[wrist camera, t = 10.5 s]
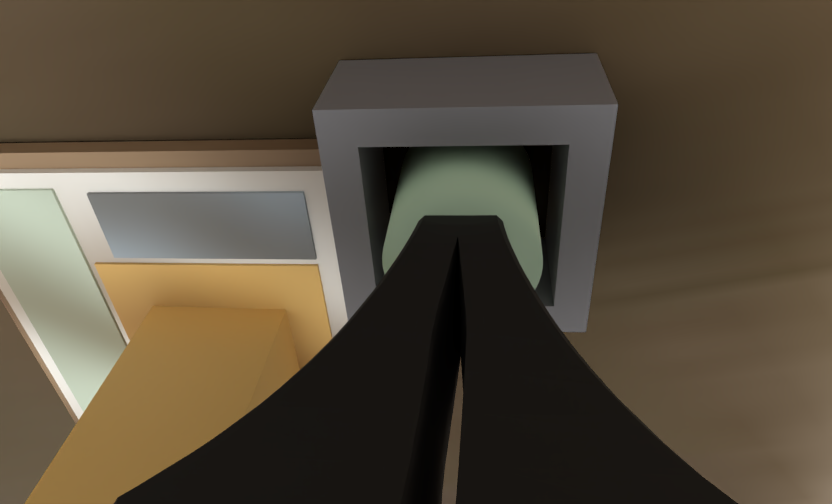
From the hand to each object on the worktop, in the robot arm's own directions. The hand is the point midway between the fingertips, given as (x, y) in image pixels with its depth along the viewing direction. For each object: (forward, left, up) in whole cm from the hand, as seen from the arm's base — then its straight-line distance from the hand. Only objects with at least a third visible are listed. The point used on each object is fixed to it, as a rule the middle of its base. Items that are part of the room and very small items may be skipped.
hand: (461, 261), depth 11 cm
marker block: (-5, +6, -2) cm, 9 cm away
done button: (0, 0, -3) cm, 3 cm away
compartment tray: (-4, +7, -3) cm, 9 cm away
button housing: (0, 0, -3) cm, 3 cm away
